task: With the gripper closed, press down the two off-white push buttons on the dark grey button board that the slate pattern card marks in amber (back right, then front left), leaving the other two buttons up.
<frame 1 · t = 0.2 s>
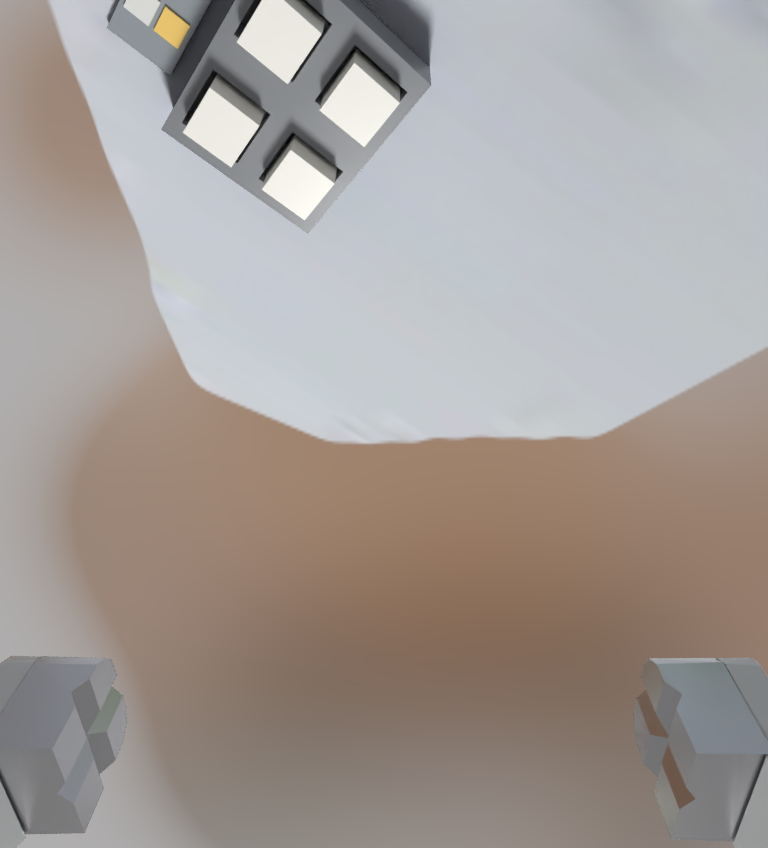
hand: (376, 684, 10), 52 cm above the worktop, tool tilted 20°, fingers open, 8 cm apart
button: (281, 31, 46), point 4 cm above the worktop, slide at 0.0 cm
button board: (298, 88, 53), on the worktop
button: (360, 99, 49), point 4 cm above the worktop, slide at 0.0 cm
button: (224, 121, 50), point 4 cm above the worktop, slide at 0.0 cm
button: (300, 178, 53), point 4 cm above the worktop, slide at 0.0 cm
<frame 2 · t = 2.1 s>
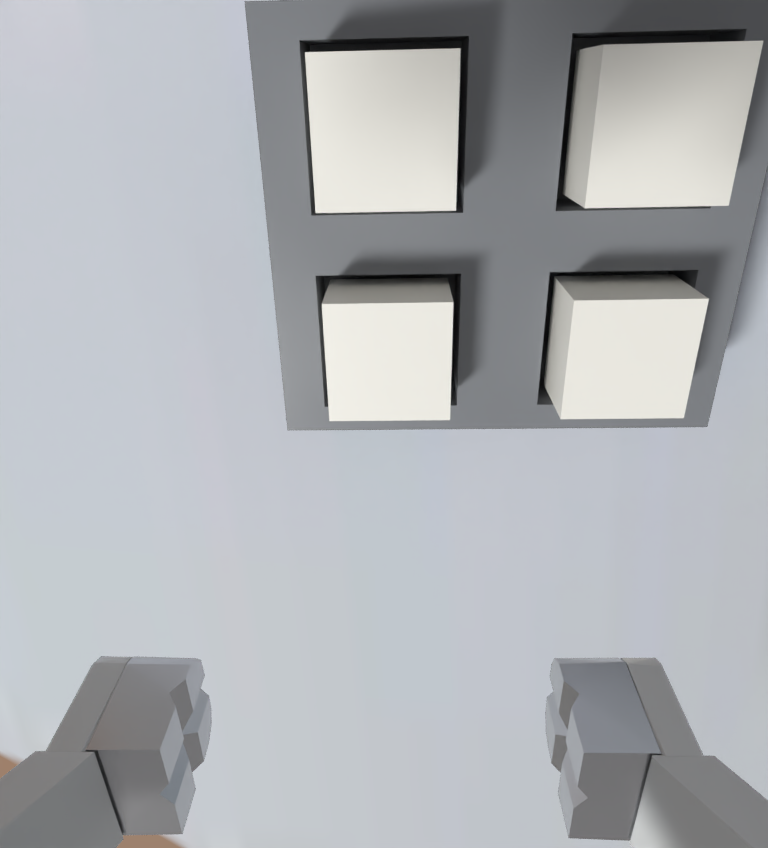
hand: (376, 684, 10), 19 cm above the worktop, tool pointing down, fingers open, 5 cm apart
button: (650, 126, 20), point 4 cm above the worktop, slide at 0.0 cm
button board: (492, 221, 25), on the worktop
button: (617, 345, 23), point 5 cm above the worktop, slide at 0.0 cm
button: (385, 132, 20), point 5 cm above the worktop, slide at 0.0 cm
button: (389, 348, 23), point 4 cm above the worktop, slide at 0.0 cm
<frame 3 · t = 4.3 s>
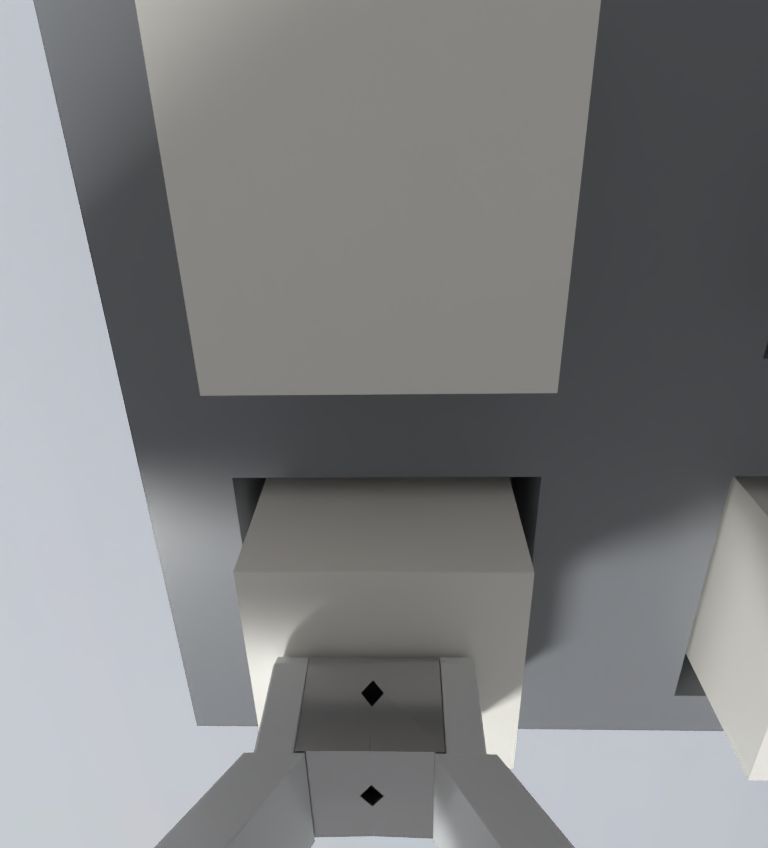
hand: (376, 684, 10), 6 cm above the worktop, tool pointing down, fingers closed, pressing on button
button board: (583, 332, 14), on the worktop
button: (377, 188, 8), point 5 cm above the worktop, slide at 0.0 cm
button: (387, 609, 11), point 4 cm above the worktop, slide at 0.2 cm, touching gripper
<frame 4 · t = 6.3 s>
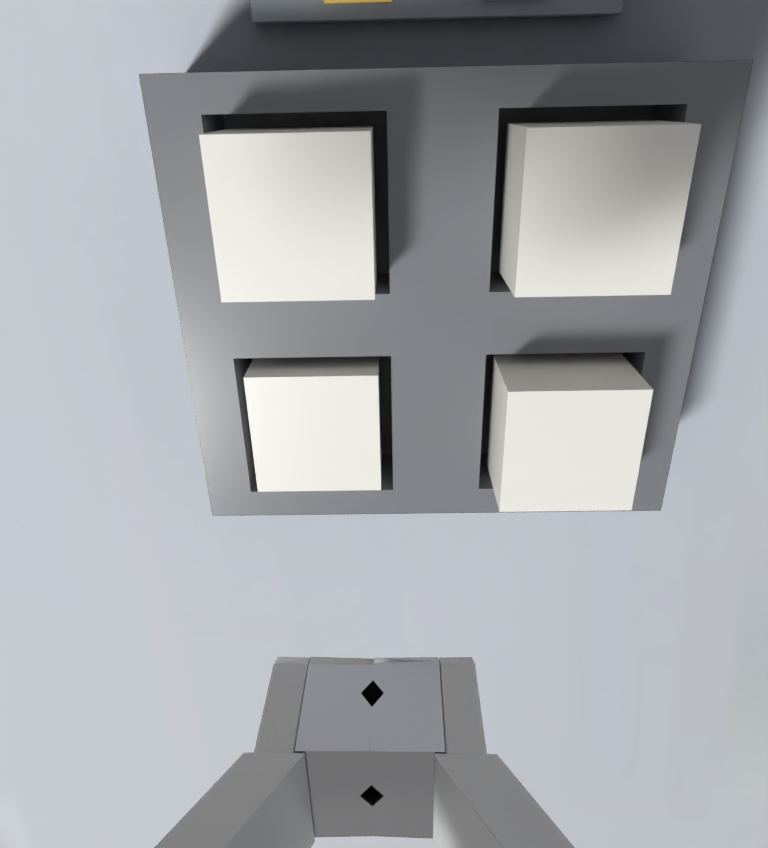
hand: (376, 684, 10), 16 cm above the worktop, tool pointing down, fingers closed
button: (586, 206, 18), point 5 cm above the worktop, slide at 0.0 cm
button board: (431, 290, 24), on the worktop
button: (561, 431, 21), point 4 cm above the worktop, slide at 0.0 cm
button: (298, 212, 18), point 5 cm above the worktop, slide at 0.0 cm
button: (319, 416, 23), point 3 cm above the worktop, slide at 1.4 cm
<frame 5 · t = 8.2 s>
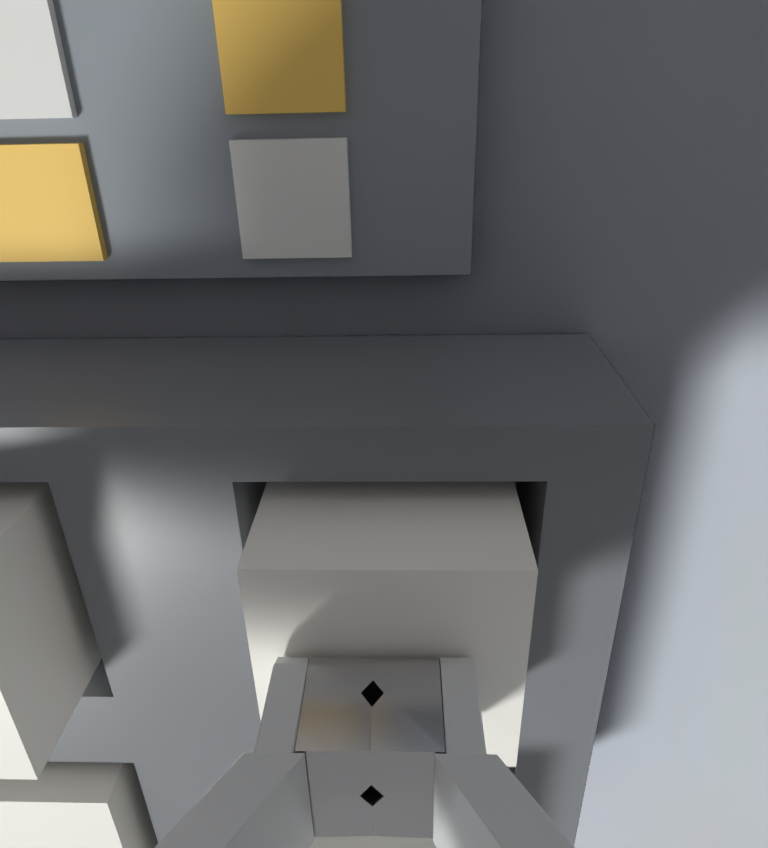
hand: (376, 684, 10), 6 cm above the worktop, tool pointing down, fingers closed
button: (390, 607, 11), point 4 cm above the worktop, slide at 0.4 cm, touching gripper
button board: (240, 595, 17), on the worktop
pattern card: (166, 126, 12), on the worktop
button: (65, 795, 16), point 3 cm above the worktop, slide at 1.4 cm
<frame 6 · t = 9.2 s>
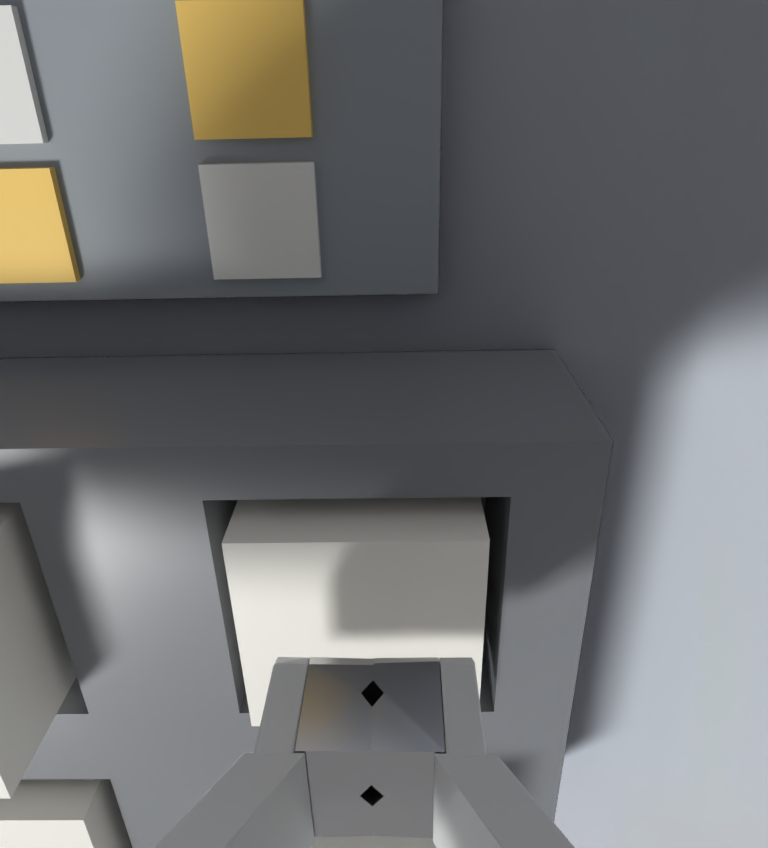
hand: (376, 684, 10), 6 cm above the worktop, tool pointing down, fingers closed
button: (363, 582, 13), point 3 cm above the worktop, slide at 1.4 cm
button board: (218, 609, 17), on the worktop
pattern card: (137, 150, 12), on the worktop
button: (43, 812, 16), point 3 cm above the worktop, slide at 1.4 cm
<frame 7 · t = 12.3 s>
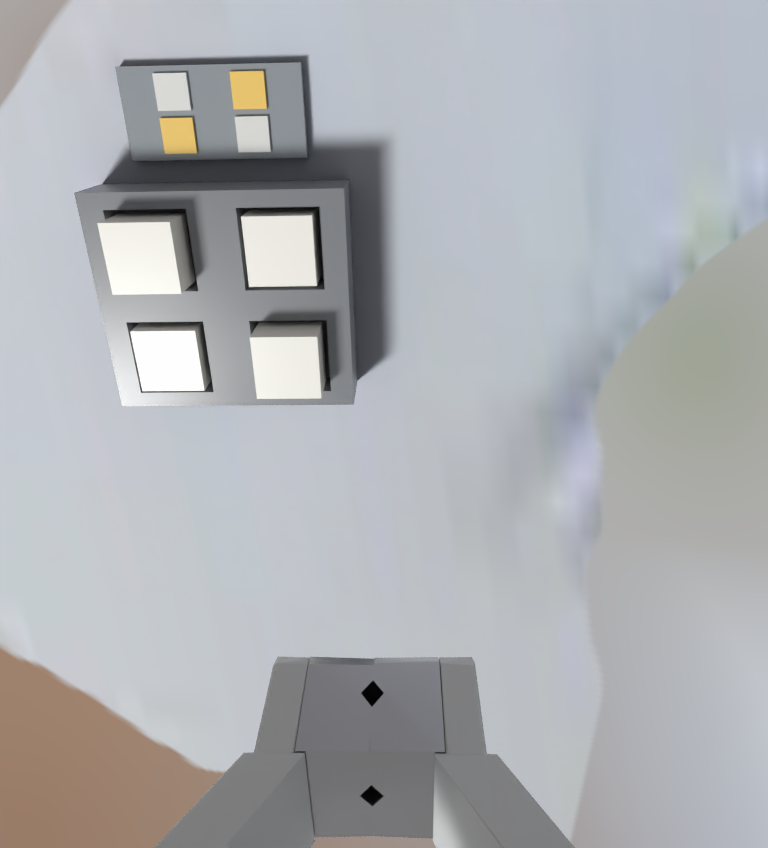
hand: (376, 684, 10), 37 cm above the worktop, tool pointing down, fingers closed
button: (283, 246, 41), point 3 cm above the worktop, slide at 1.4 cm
button board: (237, 289, 45), on the worktop
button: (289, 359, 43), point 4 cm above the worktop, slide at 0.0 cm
pattern card: (216, 113, 40), on the worktop
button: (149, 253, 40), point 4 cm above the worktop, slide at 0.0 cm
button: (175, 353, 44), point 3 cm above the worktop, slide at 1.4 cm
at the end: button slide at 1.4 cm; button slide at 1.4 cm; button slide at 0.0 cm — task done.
